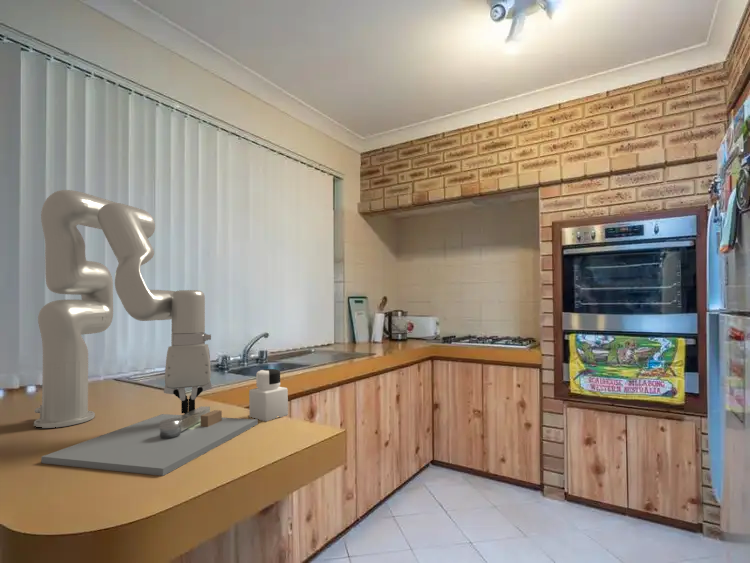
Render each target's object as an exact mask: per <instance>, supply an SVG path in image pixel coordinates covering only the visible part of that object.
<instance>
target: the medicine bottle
mask: <svg viewBox="0 0 750 563" xmlns="http://www.w3.org/2000/svg"><path fill="white" fill-rule="evenodd" d="M255 376H256V385H255V386H256V388H252V389H249V390H248V391H249V393H248V394H249V395H248V396H249V397H248V398H249V410H248V411H249V418H251V417H252V418H251V419H254V418H255V419H259V420H258V421H263V422H270V421H273V420H276V419H275V418H277V419H279V418H278V417H277V416H279V417H280V418H284V417H286V416H288V415H289V399H288V396H289V395H288V392H289V390H288V389H289V388H288V387H284V386H281V371H280V369H279V370H278V369H276V368H266V369H265V368H264V369H260V370H258V371H257V372H256V374H255ZM272 419H273V420H272ZM269 420H270V421H269Z"/></svg>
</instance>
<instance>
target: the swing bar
mask: <svg viewBox="0 0 750 563" xmlns="http://www.w3.org/2000/svg"><path fill="white" fill-rule="evenodd" d="M209 412H211V406H199V407H197V408H195V409H194V410H192V411H190V412H188V413H186V414H184V413H183V414H180V415H181V416H179V417H177V418H170V419H165V420H162V421H160V437H161V438H171V437H175V436H178V435H180V434H181V431H183V430H185V429H187V428H189V427H191V426H193V425H195V424H196V423H198V422H200V421H201V415H204V414H206V413H209Z"/></svg>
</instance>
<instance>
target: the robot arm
mask: <svg viewBox="0 0 750 563" xmlns="http://www.w3.org/2000/svg"><path fill="white" fill-rule="evenodd" d="M40 213H41V214H40V220H41V221H40V222H41V227H42V231H43V238H44V245H45V247H44V258H45V260H44V261H45V262H44V264H45V265H44V266H45V267H44V268H45V284H46V287H47V289H48V290H49V291H50V292H52V293H55V294H58V295H71V296H76V295H77V296H79V295H80V296H81V299H57V300H53V301H50V302H48V303H46V304H45V305H43V306H42V307H41V309H40V310H39V312H38V314H37V315H38V317H37V323H38V324H37V325H38V328H39V332H40V336H41V337H40V338H41V344H42V382H41V384H42V387H41V388H42V389H41V391H42V393H41V395H42V396H41V399H42V400H41V405H40V406H39V407H36V408H35V409H34V413H35V414H39V415H40V416H39V418H36V420H34V421H33V427H34V426H36V427H42V428H41V429H53V428H55V427H56V428H61V427H63V428H64V427H69V426H73V425H79V424H82V423H85V422H89V421H90V420H93V419H94V418H95V416H96V415H95V414H96V413H95V412H94V411H93V410H88V409H89V348H88V346H87V343H86V342H85V340H84V339H83V336H84V335H91V334H98V333H99V334H100V333H102V332H104V331H106V330H107V329H108V328H110V326H111V324H112V322H113V318H114V291H113V290H114V289H113V288H114V286H115V291H116V294H117V296H118V298H119V300H120V302H121V304H122V306H123V308H124V310H125V311H126V312H127V314H128V315H129V316H130V317H131V318H132V319H134V320H137V321H140V322H149V321H166V320H168V321H169V320H171V334H170V335H171V336H170V337H171V340H170V342H171V346H170V345H169V346H168V347H167V352H166V356H165V357H166V358H165V370H164V371H165V372H164V384H165V385H164V388H163V393H164V394H168V395H174V396H176V397H177V398H178V399H179V400H180V402H181V405H180V406H181V414H183V415H184V414H186V413H188V412H190V411H192V410H194V409H196V399H197V397H199V395H200V394H201V393H202V392H206V391H209V390H211V389H212V386H213V385H212V381H211V378H212V377H211V374H212V372H211V370H212V368H211V354H210V348H209V344H207V343H206V342H207V341H210V340H211V341H212V334H207V333H206V332H205V331H206V328H205V327H206V311H205V310H206V300H205V299H206V297H205V293H204V292H203V291H202V290H198V289H197V290H196V289H188V290H187V289H185V290H184V289H183V290H182V289H181V290H180V289H179V290H166V289H165V290H164V289H149V288H148V286H147V284H146V282H145V280H144V278H143V275H142V272H141V266H144V265H145V264H147V263H148V262H150V261H151V260H152V259H153V257H154V255H155V251H154V248H153V246H152V244H151V242H150V240H149V238H151V237H152V236H153V235H154V233H155V230H156V223H155V220H154V217H153V216H152V215H151V214H150V213H149V212H148V211H146V210H145V209H142V208H138V207H136V206H131V205H128V204H126V203H121V202H115V201H112V200H108V199H105V198H102V197H99V196H95V195H92V194H89V193H87V192H83V191H77V190H72V189H60V190H57V191H54V192H52V193H51V194H50V195H48V197H47V198H46V199H45V201H44V203H43V205H42V207H41V212H40ZM78 225H79V226H83V227H89V228H94V229H98V230H102V232H103V234H104V236H105V238H106V240H107V242H108V244H109V246H110V247H111V250H112V252H113V255H114V257H115V258H116V261H117V262H118V264H117V267H116V270H115V275H114V283H113V276H112V273H111V271H110V270H109V268H108V267H107V266H106V265H105V264H103V263H101V262H97V261H91V260H87V257H86V244H85V239H84V237H83V235H82V234H81V232H80V231H79V229H78V228H77V226H78ZM113 285H114V286H113ZM82 335H83V336H82ZM186 388H191V394H190V395H189V398H188V395H187V394H186ZM36 427H35V428H36Z"/></svg>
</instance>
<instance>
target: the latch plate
mask: <svg viewBox="0 0 750 563" xmlns="http://www.w3.org/2000/svg"><path fill="white" fill-rule="evenodd" d="M222 413H223V412H222V410H218V409H217V410H216V409H215V410H210V412H209V413H206V414H204V415H201V421H200V422H198V423H196V424H195V425H193V426H191V427H189V428H187V429H185V430H183V431H181V434H180V435H178V436H175V437H171V438H161V437H160V421H162V420H165V419H170V418H177V417H179V416H181V415H182V414H168V413H166V414H164V413H161V414H158V415H156V416H153V417H150V418H147V419H145V420H142V421H138V422H136V423H133V424H131V425H128V426H124V427H122V428H118V429H116V430H113V431H110V432H108V433H104V434H101V435H98V436H95V437H93V438H90V439H88V440H85V441H83V442H82V441H81V442H79V443H77V444H74V445H69V446H67V447H64V448H61V449H59V450H57V451H54V452H51V453H49V454H44V455H42V456H41V459H40V460H41V464H46V465H56V466H57V465H58V466H67V467H76V468H85V469H87V468H88V469H95V470H96V469H97V470H104V471H115V472H124V473H133V474H143V475H152V476H160V477H161V476H165V475H168V474H169V473H171V472H173V471H174V470H176V469H179V468H180V467H182V466H184V465H186V464H188V463H189V462H191V461H193V460H195V459H196V458H199V457H200V456H202V455H204V454H206V453H208V452H210V451H211V450H213V449H215V448H217V447H219V446H220V445H223V444H224V443H227V442H228V441H230V440H232V439H234V438H235V437H237V436H239V435H241V434H243V433H245V432H247V431H249V430H250V429H252V428H254V427H256V426H257V424H258V421H259V420H258V419H254V418H241V417H240V418H237V417H223V416H222V415H223V414H222ZM255 425H256V426H255ZM253 426H254V427H253ZM251 427H252V428H251ZM246 430H247V431H246Z"/></svg>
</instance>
